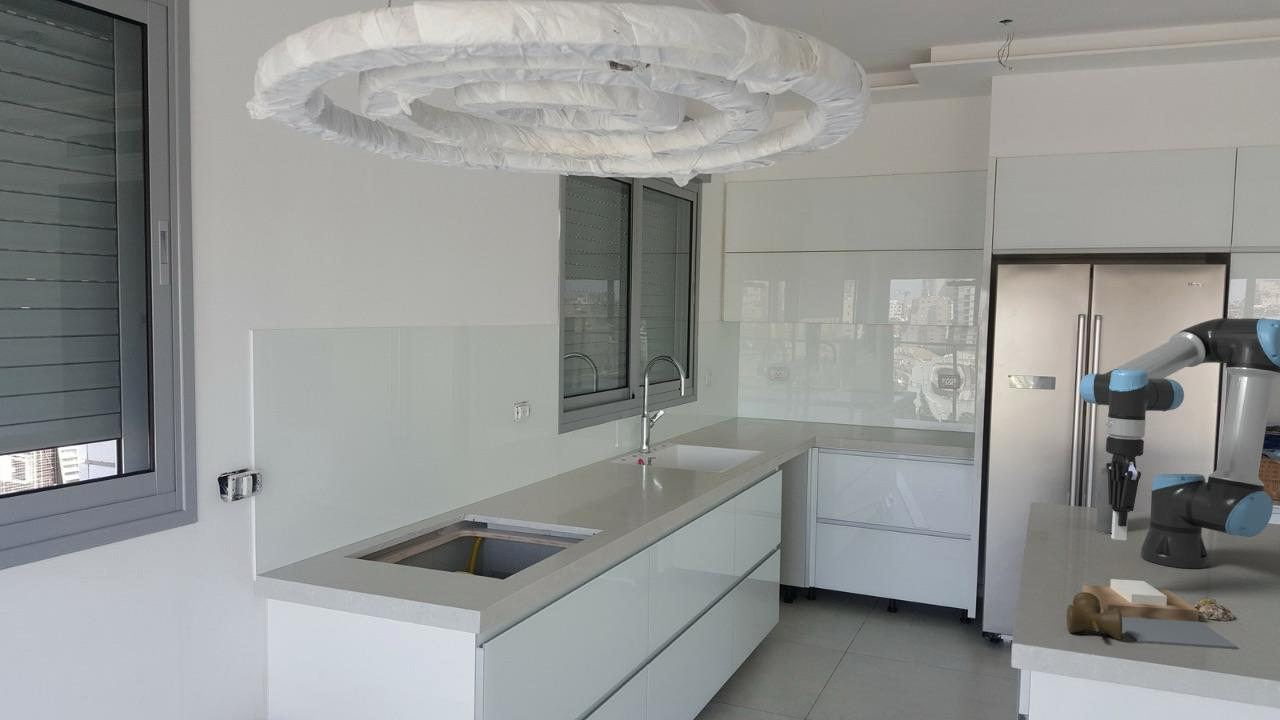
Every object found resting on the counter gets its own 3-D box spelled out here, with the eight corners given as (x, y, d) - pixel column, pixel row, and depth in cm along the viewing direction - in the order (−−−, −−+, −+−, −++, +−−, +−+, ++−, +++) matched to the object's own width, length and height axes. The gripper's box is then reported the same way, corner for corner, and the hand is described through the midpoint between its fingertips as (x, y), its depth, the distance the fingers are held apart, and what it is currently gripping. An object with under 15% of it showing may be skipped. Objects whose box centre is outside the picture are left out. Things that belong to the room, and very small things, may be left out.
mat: (1200, 623, 182) (1200, 622, 182) (1237, 649, 169) (1237, 646, 168) (1109, 618, 185) (1109, 616, 185) (1138, 642, 171) (1138, 640, 171)
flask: (1118, 535, 259) (1121, 468, 258) (1096, 532, 262) (1099, 465, 261) (1119, 525, 272) (1123, 461, 271) (1098, 523, 275) (1102, 459, 274)
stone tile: (1143, 589, 197) (1143, 581, 197) (1166, 605, 186) (1166, 596, 186) (1110, 587, 198) (1110, 579, 198) (1131, 603, 187) (1131, 594, 187)
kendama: (1111, 619, 185) (1126, 649, 167) (1060, 614, 189) (1069, 643, 170) (1111, 591, 185) (1126, 618, 167) (1061, 586, 189) (1070, 612, 170)
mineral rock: (1241, 615, 182) (1197, 598, 186) (1233, 634, 183) (1190, 617, 186) (1232, 602, 192) (1192, 586, 195) (1225, 620, 193) (1184, 604, 196)
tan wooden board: (1166, 600, 197) (1167, 590, 197) (1198, 622, 183) (1198, 610, 183) (1082, 595, 200) (1082, 584, 199) (1107, 616, 186) (1107, 604, 186)
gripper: (1096, 432, 207) (1090, 531, 208) (1119, 439, 195) (1113, 545, 196) (1130, 434, 207) (1124, 533, 208) (1155, 441, 194) (1148, 547, 195)
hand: (1118, 539), depth 202 cm, fingers closed
